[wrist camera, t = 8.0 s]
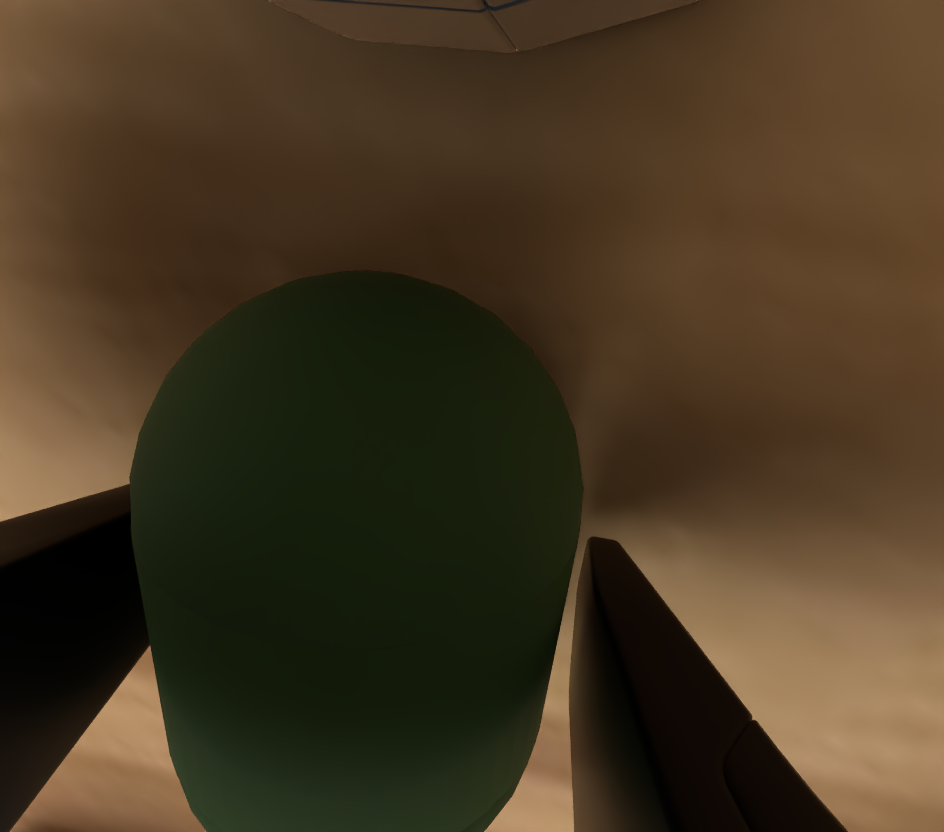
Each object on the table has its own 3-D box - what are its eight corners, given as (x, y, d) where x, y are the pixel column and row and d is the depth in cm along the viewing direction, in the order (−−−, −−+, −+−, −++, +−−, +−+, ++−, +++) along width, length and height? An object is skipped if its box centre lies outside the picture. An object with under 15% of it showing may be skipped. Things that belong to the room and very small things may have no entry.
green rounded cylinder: (534, 690, 11) (493, 1045, 7) (287, 635, 12) (102, 925, 7) (616, 265, 8) (643, 412, 3) (267, 221, 9) (-90, 296, 4)
